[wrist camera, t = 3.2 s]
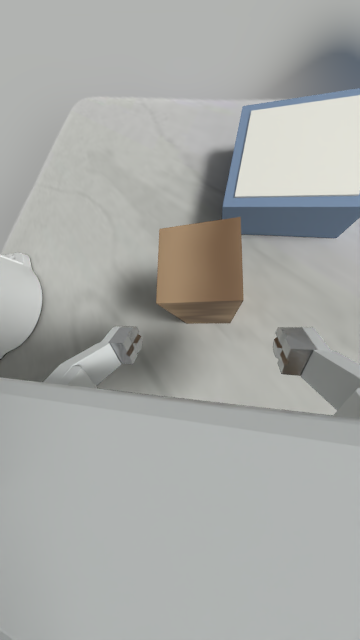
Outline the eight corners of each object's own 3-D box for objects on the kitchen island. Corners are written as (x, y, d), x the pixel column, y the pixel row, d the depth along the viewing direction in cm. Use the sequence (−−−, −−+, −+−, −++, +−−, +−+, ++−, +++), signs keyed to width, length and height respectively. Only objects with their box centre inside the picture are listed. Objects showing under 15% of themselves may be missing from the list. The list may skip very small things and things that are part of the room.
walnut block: (186, 323, 19) (156, 303, 10) (187, 283, 20) (159, 228, 10) (230, 323, 18) (243, 300, 9) (229, 281, 19) (240, 216, 9)
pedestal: (221, 233, 20) (222, 205, 16) (238, 149, 21) (242, 104, 17) (336, 238, 17) (373, 205, 13) (348, 139, 18) (386, 82, 14)
